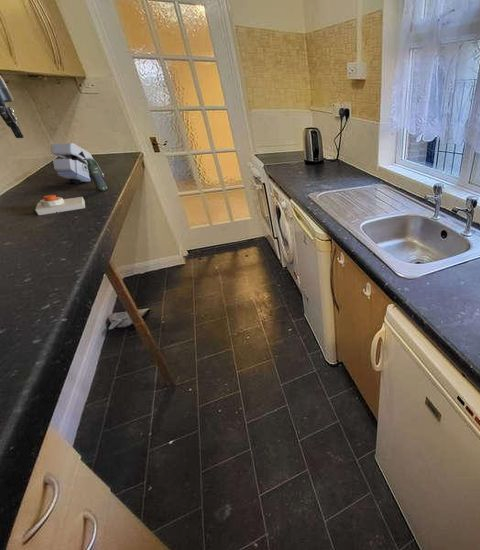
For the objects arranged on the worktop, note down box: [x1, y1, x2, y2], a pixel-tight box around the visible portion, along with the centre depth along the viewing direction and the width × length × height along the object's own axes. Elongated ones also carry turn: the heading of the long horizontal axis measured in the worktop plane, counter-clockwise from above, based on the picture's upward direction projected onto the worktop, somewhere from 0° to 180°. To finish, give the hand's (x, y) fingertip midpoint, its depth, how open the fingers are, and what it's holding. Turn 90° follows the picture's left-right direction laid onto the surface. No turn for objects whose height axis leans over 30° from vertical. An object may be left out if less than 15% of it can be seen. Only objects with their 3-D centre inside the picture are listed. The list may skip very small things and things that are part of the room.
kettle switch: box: [43, 194, 58, 201], centre depth 118 cm, size 4×4×2 cm
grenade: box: [83, 157, 108, 192], centre depth 140 cm, size 4×4×15 cm
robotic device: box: [50, 142, 105, 185], centre depth 155 cm, size 10×21×20 cm
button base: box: [35, 196, 86, 216], centre depth 121 cm, size 14×11×4 cm
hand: (20, 137), depth 118 cm, fingers closed
